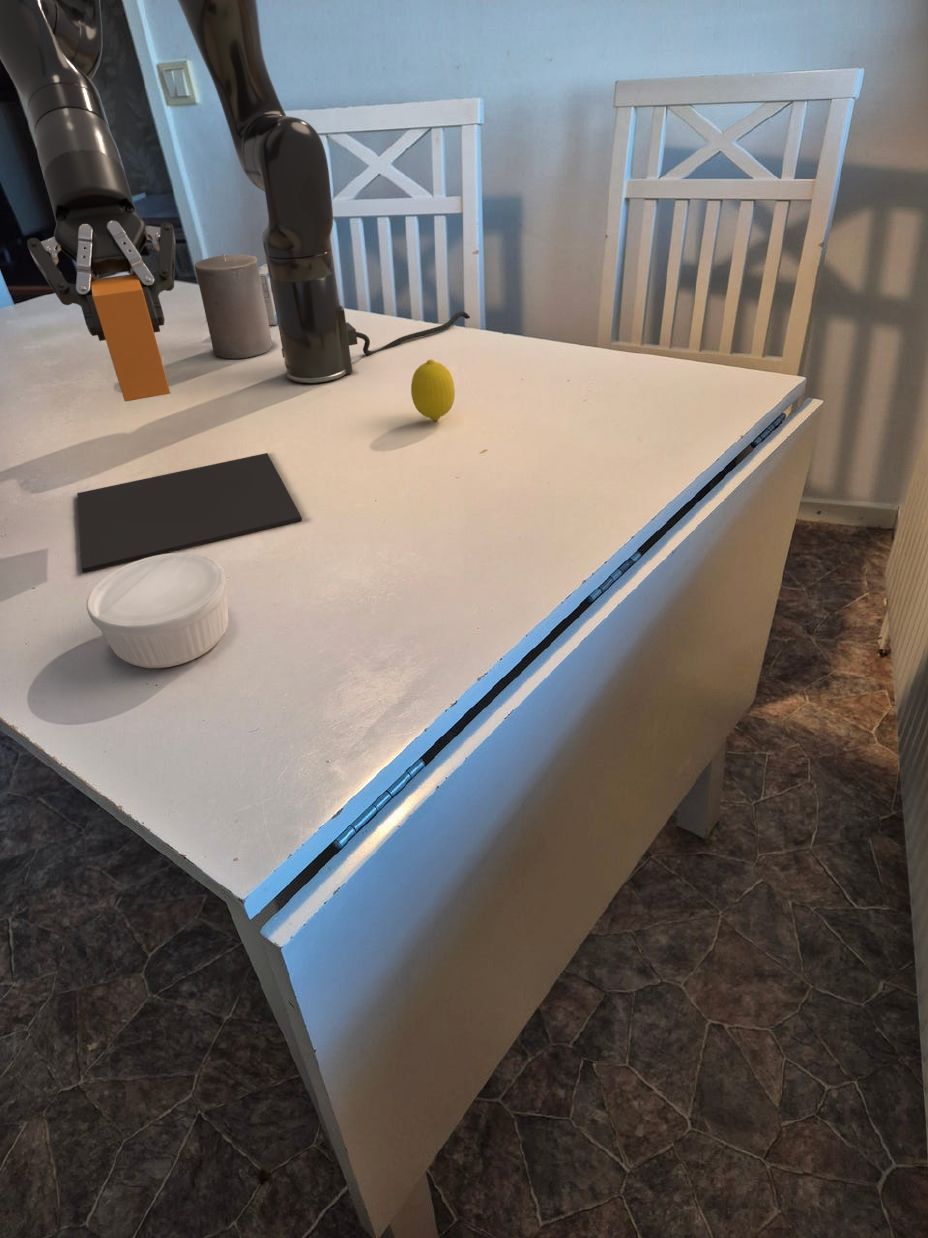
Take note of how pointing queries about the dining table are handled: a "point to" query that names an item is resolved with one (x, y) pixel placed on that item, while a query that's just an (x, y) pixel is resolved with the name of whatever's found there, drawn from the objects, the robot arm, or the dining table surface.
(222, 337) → the pillar candle
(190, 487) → the mat
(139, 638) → the ramekin
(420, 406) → the lemon
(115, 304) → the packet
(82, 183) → the robot arm
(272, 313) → the medicine box
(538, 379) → the dining table surface
